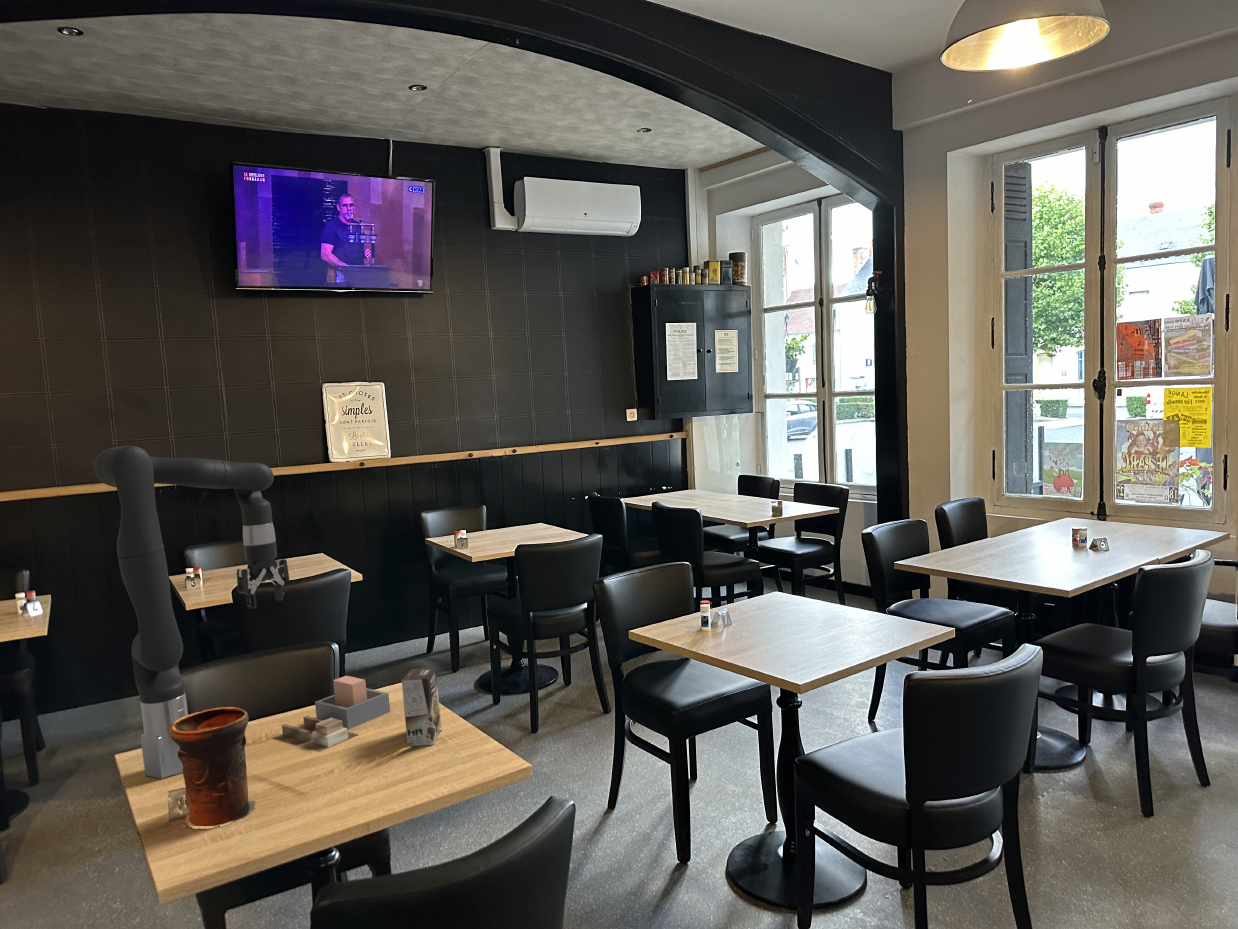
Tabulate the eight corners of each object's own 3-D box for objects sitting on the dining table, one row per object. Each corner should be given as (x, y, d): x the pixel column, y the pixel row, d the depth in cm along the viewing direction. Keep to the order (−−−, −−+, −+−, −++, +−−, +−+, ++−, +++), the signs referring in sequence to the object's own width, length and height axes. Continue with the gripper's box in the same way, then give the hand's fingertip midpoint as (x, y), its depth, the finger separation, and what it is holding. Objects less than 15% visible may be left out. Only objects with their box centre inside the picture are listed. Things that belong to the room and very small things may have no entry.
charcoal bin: (317, 724, 223) (314, 702, 222) (359, 707, 233) (357, 686, 233) (348, 733, 215) (346, 709, 215) (390, 715, 225) (388, 693, 225)
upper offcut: (316, 732, 208) (315, 724, 208) (332, 725, 211) (331, 717, 211) (327, 735, 205) (326, 727, 205) (343, 728, 209) (342, 720, 209)
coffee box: (434, 745, 203) (427, 678, 202) (406, 747, 204) (400, 680, 202) (442, 730, 213) (436, 666, 211) (416, 732, 213) (410, 667, 211)
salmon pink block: (337, 718, 225) (333, 680, 224) (350, 712, 228) (346, 675, 227) (356, 723, 220) (352, 684, 219) (369, 717, 223) (365, 679, 223)
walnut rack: (273, 741, 213) (272, 727, 213) (312, 725, 222) (311, 712, 222) (320, 755, 202) (318, 741, 202) (359, 738, 211) (357, 724, 211)
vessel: (180, 807, 180) (172, 713, 179) (255, 792, 186) (247, 701, 184) (176, 838, 167) (167, 737, 165) (256, 820, 173) (248, 722, 171)
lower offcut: (313, 742, 208) (312, 732, 208) (333, 734, 213) (332, 724, 212) (328, 747, 205) (327, 736, 204) (348, 738, 209) (347, 728, 209)
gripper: (247, 546, 212) (254, 612, 214) (292, 536, 225) (298, 598, 226) (225, 546, 216) (232, 610, 217) (271, 536, 228) (277, 597, 230)
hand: (266, 604), depth 222 cm, fingers open, 8 cm apart
